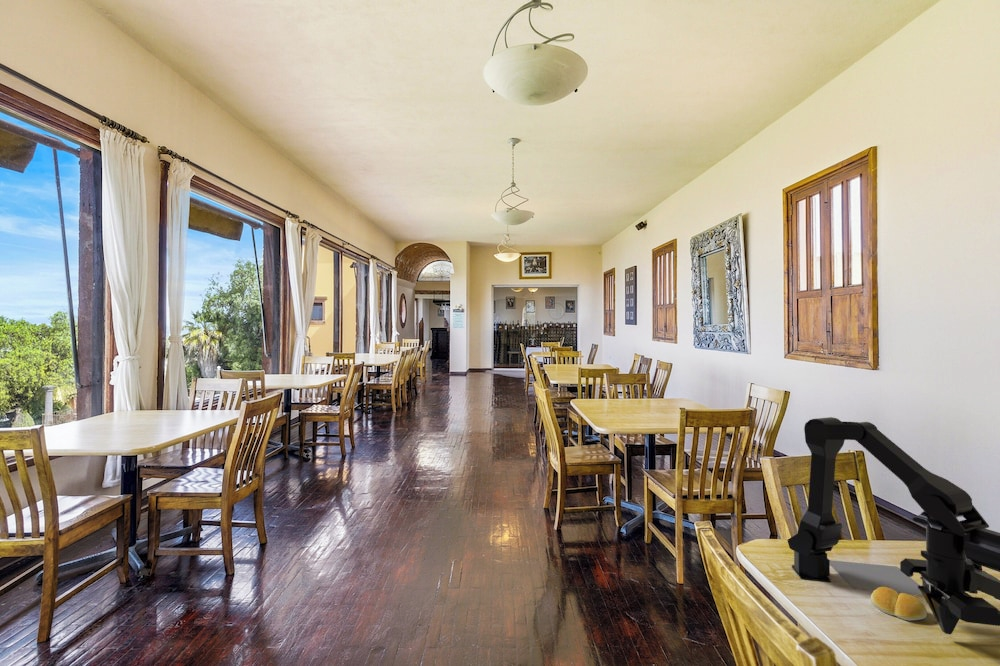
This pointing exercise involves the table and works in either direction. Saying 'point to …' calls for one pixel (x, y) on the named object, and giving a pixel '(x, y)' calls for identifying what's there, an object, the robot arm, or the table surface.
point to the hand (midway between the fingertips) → (946, 632)
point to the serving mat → (875, 577)
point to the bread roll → (898, 604)
